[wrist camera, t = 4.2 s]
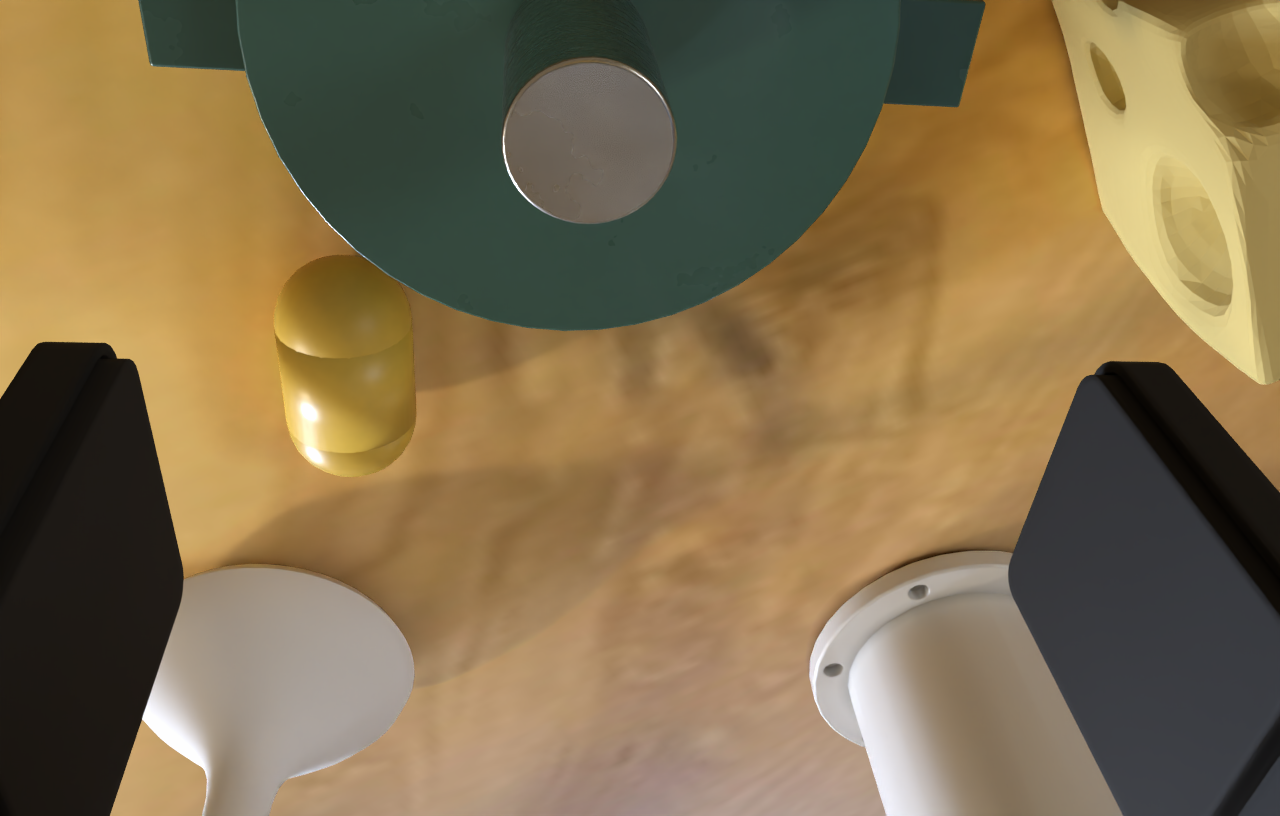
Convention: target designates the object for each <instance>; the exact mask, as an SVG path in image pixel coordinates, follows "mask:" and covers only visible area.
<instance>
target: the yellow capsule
mask: <svg viewBox="0 0 1280 816" xmlns="http://www.w3.org/2000/svg"><path fill="white" fill-rule="evenodd" d="M274 331H275V338H276V346H277V353H278V361H279V368H280V376H281V383H282V391H283V398H284V406H285V414H286V421H287V426H288V429H289V433H290V437H291V439H292V441H293V442H294V444H295V446H296V448H297V449H298V451H299V452H300V454H301V455H302V456H303V457H304V458H305V459H306V460H308V461H309V462H310V463H311V464H312V465H314V466H315V467H317V468H319V469H321V470H323V471H325V472H327V473H330V474H332V475H337V476H344V477H359V476H364V475H369V474H372V473H375V472H378V471H380V470H382V469H384V468H386V467H387V466H389V465H390V464H391V463H393V462H394V461H395V460H396V459H397V458H398V457H399V456H400V455H401V454H402V453H403V451H404V450H405V448H406V447H407V445H408V444H409V442H410V440H411V437H412V434H413V431H414V428H415V423H416V395H415V373H414V352H413V330H412V316H411V310H410V305H409V303H408V300H407V298H406V295H405V293H404V291H403V289H402V288H401V286H400V285H399V283H398V282H397V281H396V279H394V278H392V277H391V276H389V275H387V274H386V273H385V272H383V271H382V270H381V269H379V268H378V267H377V266H375V265H374V264H373V263H371V262H370V261H369V260H367V259H365V258H361V257H357V256H350V255H333V256H327V257H322V258H319V259H316V260H314V261H311V262H309V263H308V264H306V265H305V266H303V267H302V268H300V269H299V270H297V271H296V272H295V273H294V274H293V275H292V276H291V277H290V278H289V280H288V281H287V282H286V283H285V285H284V287H283V289H282V290H281V292H280V294H279V296H278V298H277V303H276V307H275V312H274Z"/></svg>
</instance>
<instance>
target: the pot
mask: <svg viewBox="0 0 1280 816" xmlns="http://www.w3.org/2000/svg"><path fill="white" fill-rule="evenodd" d="M138 1H139V7H140V12H141V18H142V23H143V29H144V34H145V40H146V45H147V51H148V56H149V62H150V64H151V65H152V66H157V67H177V68H197V69H216V70H236V71H245V67H244V62H243V57H242V52H241V47H240V42H239V37H238V29H237V14H236V0H138ZM984 8H985V2H984V1H983V0H901V2H900V28H899V35H898V41H897V48H896V54H895V61H894V67H893V71H892V75H891V78H890V82H889V85H888V89H887V92H886V96H885V99H884V103H883V104H903V105H922V106H942V107H958V106H959V104H960V101H961V97H962V93H963V89H964V85H965V81H966V78H967V74H968V70H969V66H970V62H971V58H972V54H973V51H974V47H975V43H976V39H977V35H978V31H979V28H980V24H981V20H982V16H983V12H984Z"/></svg>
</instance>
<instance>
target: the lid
mask: <svg viewBox="0 0 1280 816" xmlns="http://www.w3.org/2000/svg"><path fill="white" fill-rule="evenodd" d="M900 2H901V0H236V14H237V29H238V37H239V42H240V47H241V52H242V57H243V62H244V67H245V72H246V77H247V80H248V83H249V86H250V89H251V92H252V95H253V98H254V101H255V104H256V107H257V110H258V113H259V116H260V118H261V121H262V123H263V125H264V127H265V129H266V131H267V133H268V135H269V137H270V139H271V141H272V143H273V146H274V148H275V150H276V152H277V154H278V156H279V158H280V159H281V161H282V162H283V164H284V165H285V167H286V169H287V170H288V172H289V173H290V175H291V176H292V178H293V179H294V181H295V183H296V184H297V186H298V187H299V189H300V190H301V192H302V193H303V194H304V196H305V197H306V198H307V199H308V200H309V202H310V203H311V204H312V205H313V206H314V208H315V209H316V210H317V211H318V213H319V214H320V215H321V216H322V217H323V219H324V220H325V221H326V222H327V223H328V224H329V225H330V226H331V227H332V228H333V229H334V230H335V231H336V232H337V233H338V234H339V235H340V236H341V237H342V238H343V239H344V240H345V241H346V242H347V243H348V244H349V245H351V246H352V247H353V248H354V249H355V250H356V251H357V252H358V253H360V254H361V255H362V256H363V257H365V258H366V259H367V260H369V261H370V262H371V263H373V264H374V265H375V266H377V267H378V268H379V269H381V270H382V271H383V272H385V273H386V274H387V275H389V276H391V277H392V278H394V279H396V280H397V281H399V282H401V283H403V284H404V285H406V286H408V287H409V288H411V289H413V290H415V291H416V292H418V293H420V294H421V295H424V296H426V297H428V298H430V299H433V300H435V301H437V302H439V303H442V304H444V305H446V306H449V307H451V308H453V309H455V310H458V311H462V312H465V313H468V314H471V315H474V316H478V317H481V318H484V319H487V320H490V321H495V322H500V323H505V324H510V325H516V326H521V327H526V328H536V329H549V330H561V331H570V330H601V329H607V328H614V327H621V326H628V325H635V324H639V323H643V322H647V321H651V320H655V319H659V318H662V317H666V316H670V315H673V314H676V313H678V312H681V311H683V310H686V309H689V308H691V307H694V306H696V305H699V304H702V303H704V302H707V301H708V300H710V299H712V298H714V297H716V296H718V295H720V294H722V293H724V292H726V291H728V290H730V289H732V288H733V287H735V286H737V285H739V284H740V283H742V282H743V281H745V280H746V279H748V278H749V277H751V276H752V275H754V274H755V273H757V272H758V271H760V270H761V269H763V268H764V267H766V266H767V265H769V264H770V263H771V262H772V261H773V260H775V259H776V258H777V257H778V256H779V255H780V254H782V253H783V252H784V251H785V250H786V249H787V248H789V247H790V246H791V245H792V244H793V243H794V242H796V241H797V240H798V239H799V238H800V237H801V236H802V235H803V233H804V232H805V231H806V230H807V229H808V228H809V227H810V226H811V225H812V224H813V223H814V222H815V221H816V219H817V218H818V217H819V216H820V215H821V214H822V213H823V212H824V211H825V209H826V208H827V206H828V205H829V204H830V202H831V201H832V200H833V198H834V197H835V196H836V194H837V193H838V192H839V190H840V189H841V187H842V186H843V185H844V183H845V182H846V181H847V179H848V177H849V175H850V174H851V172H852V170H853V168H854V167H855V165H856V163H857V161H858V159H859V158H860V156H861V154H862V152H863V151H864V149H865V147H866V145H867V143H868V140H869V138H870V136H871V133H872V131H873V128H874V126H875V124H876V121H877V119H878V117H879V114H880V112H881V109H882V106H883V103H884V99H885V96H886V92H887V89H888V85H889V82H890V78H891V75H892V71H893V67H894V61H895V54H896V48H897V41H898V35H899V28H900Z"/></svg>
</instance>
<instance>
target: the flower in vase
mask: <svg viewBox="0 0 1280 816" xmlns="http://www.w3.org/2000/svg"><path fill="white" fill-rule="evenodd" d="M183 580H184V581H183V593H182V599H181V603H180V607H179V610H178V613H177V616H176V619H175V622H174V625H173V628H172V631H171V634H170V637H169V640H168V643H167V646H166V649H165V652H164V655H163V658H162V661H161V664H160V667H159V670H158V673H157V676H156V679H155V682H154V685H153V688H152V691H151V694H150V697H149V700H148V703H147V706H146V709H145V712H144V715H143V718H142V719H143V720H144V721H145V722H146V723H147V725H148V726H149V727H150V728H151V729H152V730H153V731H154V732H155V733H156V734H157V735H158V736H159V737H160V738H161V739H162V740H163V741H164V742H166V743H167V744H168V745H169V746H171V747H172V748H173V749H175V750H176V751H178V752H179V753H181V754H182V755H184V756H185V757H187V758H188V759H190V760H191V761H193V762H195V763H196V764H198V765H200V766H201V767H202V768H203V769H204V770H205V773H206V777H207V793H206V800H205V805H204V809H203V814H202V816H269V813H270V810H271V806H272V803H273V801H274V798H275V796H276V794H277V791H278V789H279V788H280V787H281V785H282V784H283V783H284V782H285V781H286V780H287V779H289V778H292V777H296V776H300V775H304V774H307V773H311V772H314V771H317V770H320V769H323V768H326V767H329V766H332V765H334V764H337V763H339V762H341V761H343V760H345V759H347V758H349V757H351V756H352V755H354V754H356V753H358V752H359V751H361V750H363V749H365V748H366V747H368V746H369V745H371V744H372V743H374V742H375V741H377V740H378V739H379V738H380V737H381V736H382V735H383V734H385V733H386V732H387V731H388V729H389V728H390V727H391V726H392V725H393V723H394V722H395V720H396V719H397V717H398V716H399V714H400V712H401V711H402V709H403V707H404V706H405V704H406V702H407V701H408V699H409V696H410V693H411V691H412V688H413V682H414V676H415V674H414V661H413V657H412V653H411V650H410V648H409V645H408V643H407V641H406V639H405V637H404V636H403V634H402V633H401V631H400V630H399V628H398V627H397V625H396V624H395V623H394V622H393V621H392V619H391V618H390V617H389V616H388V615H387V614H386V613H385V611H384V610H383V609H382V608H381V607H380V606H378V605H377V604H376V603H375V602H374V601H373V600H371V599H370V598H369V597H367V596H366V595H364V594H363V593H361V592H360V591H358V590H357V589H355V588H353V587H351V586H349V585H347V584H345V583H343V582H341V581H339V580H337V579H334V578H332V577H329V576H326V575H324V574H320V573H317V572H313V571H310V570H306V569H301V568H296V567H290V566H283V565H273V564H243V565H232V566H226V567H221V568H216V569H211V570H208V571H204V572H201V573H198V574H195V575H192V576H190V577H188V578H185V579H183Z"/></svg>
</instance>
